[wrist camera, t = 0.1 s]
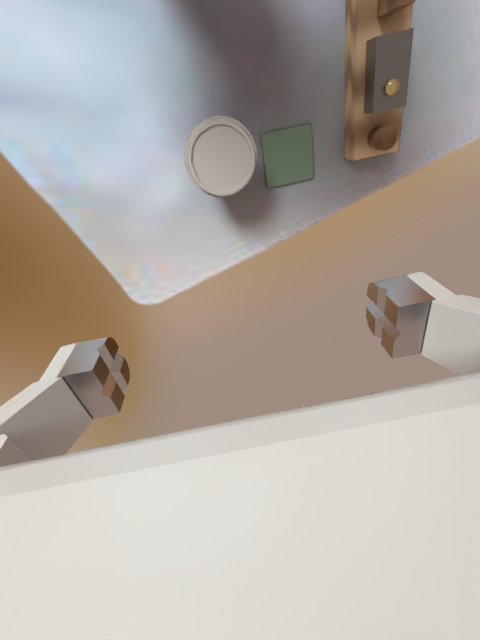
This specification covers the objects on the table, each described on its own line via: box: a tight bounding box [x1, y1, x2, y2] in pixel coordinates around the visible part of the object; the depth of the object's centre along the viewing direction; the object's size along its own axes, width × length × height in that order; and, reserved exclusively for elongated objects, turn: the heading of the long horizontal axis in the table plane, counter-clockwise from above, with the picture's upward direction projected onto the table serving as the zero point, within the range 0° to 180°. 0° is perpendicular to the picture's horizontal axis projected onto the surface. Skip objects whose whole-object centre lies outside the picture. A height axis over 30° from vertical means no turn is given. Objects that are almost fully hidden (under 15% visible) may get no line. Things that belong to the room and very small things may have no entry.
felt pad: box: [260, 123, 314, 188], centre depth 50 cm, size 8×8×1 cm
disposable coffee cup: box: [185, 116, 257, 197], centre depth 44 cm, size 10×10×12 cm
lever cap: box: [364, 28, 413, 114], centre depth 41 cm, size 8×4×4 cm, turn 11°
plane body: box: [345, 0, 415, 162], centre depth 42 cm, size 21×7×9 cm, turn 11°
